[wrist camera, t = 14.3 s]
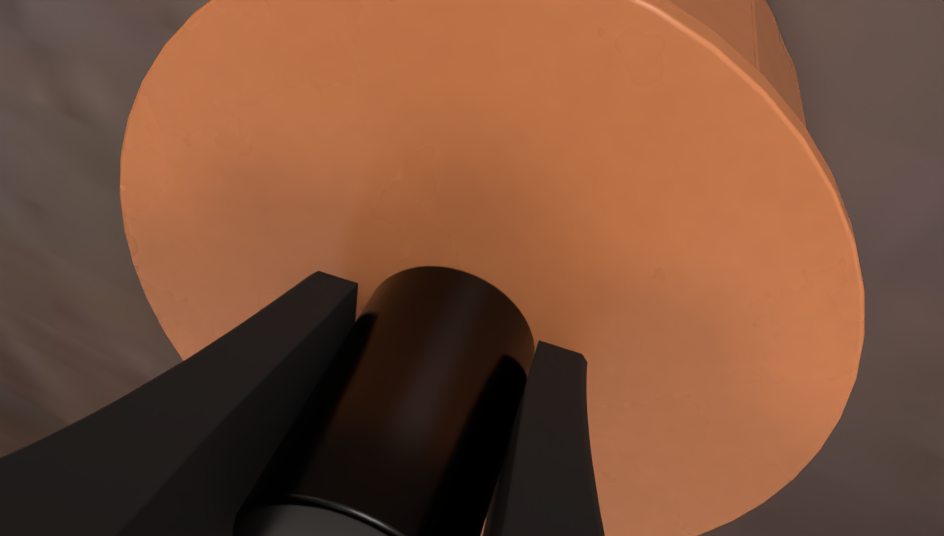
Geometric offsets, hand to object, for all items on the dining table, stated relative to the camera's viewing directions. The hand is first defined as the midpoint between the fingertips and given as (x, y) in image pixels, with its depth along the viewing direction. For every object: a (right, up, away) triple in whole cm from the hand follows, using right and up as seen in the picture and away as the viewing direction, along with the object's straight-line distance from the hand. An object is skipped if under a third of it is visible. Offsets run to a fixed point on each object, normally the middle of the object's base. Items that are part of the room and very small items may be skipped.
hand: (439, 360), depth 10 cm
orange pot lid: (0, +1, +1) cm, 1 cm away
